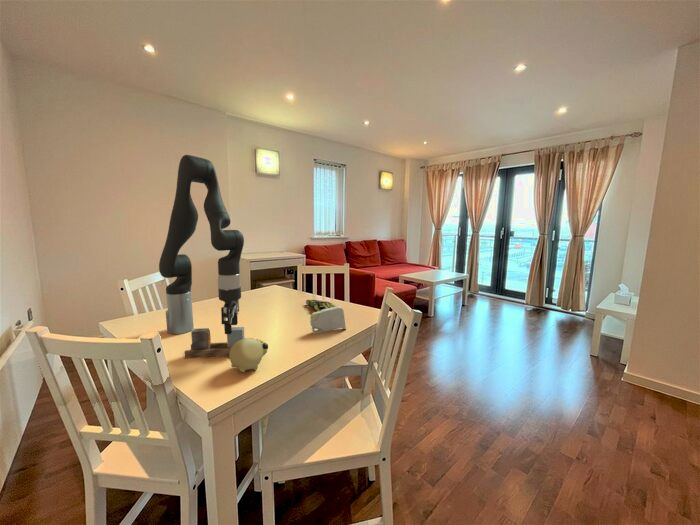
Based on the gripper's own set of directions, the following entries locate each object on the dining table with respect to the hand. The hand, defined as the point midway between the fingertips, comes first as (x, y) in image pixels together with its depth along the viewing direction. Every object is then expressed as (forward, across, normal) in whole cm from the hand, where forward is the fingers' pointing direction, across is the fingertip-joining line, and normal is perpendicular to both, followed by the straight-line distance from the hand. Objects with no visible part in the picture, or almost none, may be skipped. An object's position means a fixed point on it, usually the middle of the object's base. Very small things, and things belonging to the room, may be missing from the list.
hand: (231, 329), depth 107 cm
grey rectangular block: (+8, 0, +2) cm, 8 cm away
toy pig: (+9, +13, +9) cm, 18 cm away
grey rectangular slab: (+9, -17, +37) cm, 41 cm away
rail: (+9, 0, -5) cm, 10 cm away
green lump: (+10, -48, +34) cm, 60 cm away
